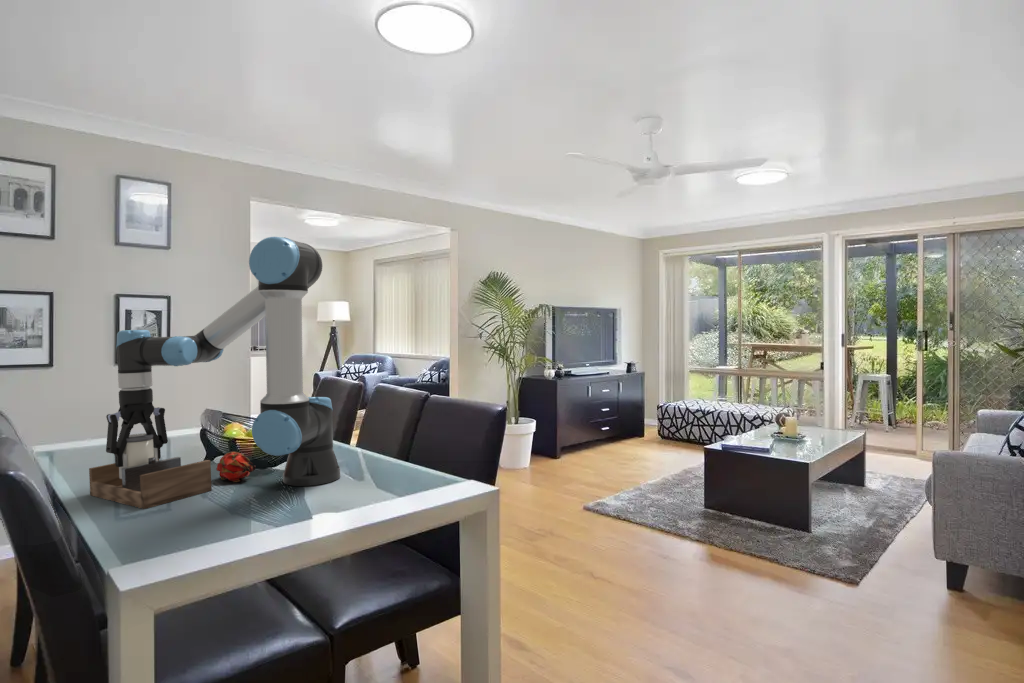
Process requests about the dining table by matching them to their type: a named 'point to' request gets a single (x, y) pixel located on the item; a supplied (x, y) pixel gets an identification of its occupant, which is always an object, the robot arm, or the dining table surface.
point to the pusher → (146, 471)
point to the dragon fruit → (234, 466)
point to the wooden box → (152, 484)
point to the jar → (139, 449)
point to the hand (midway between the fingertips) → (139, 475)
